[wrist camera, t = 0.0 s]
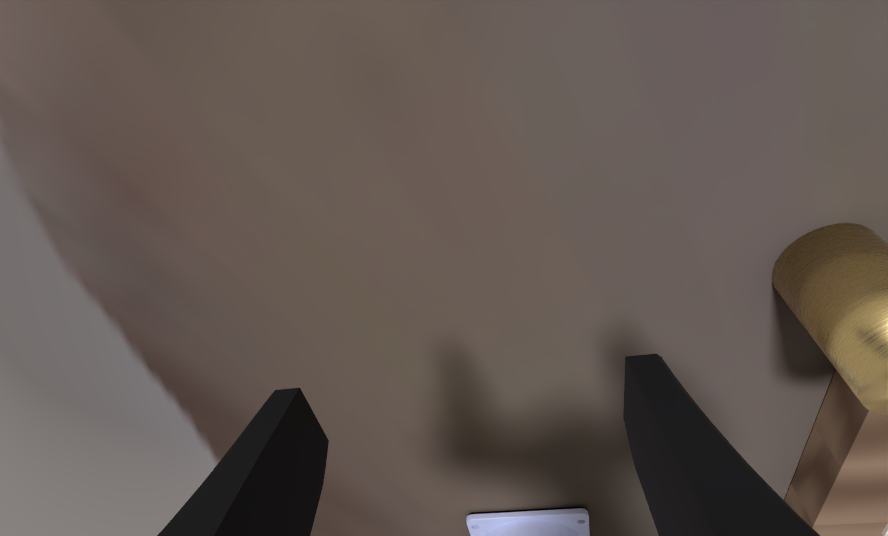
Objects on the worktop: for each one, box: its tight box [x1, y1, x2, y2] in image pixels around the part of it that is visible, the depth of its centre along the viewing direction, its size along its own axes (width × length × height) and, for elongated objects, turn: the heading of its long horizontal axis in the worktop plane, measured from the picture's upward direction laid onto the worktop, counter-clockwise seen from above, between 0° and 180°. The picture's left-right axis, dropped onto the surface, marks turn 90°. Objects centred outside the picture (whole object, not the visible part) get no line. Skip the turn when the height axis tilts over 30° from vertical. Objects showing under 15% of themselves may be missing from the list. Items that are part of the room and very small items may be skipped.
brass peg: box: [772, 223, 888, 416], centre depth 18 cm, size 4×4×6 cm
